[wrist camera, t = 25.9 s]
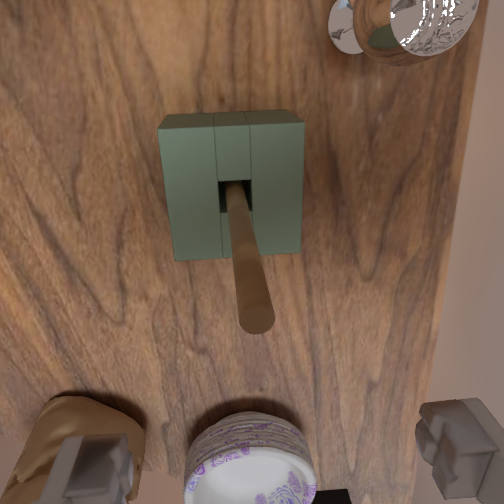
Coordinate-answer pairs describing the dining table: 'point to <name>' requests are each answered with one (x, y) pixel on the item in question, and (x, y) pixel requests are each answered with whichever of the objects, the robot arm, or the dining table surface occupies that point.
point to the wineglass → (399, 28)
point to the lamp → (332, 497)
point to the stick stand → (232, 179)
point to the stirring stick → (247, 264)
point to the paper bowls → (249, 463)
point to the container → (54, 433)
